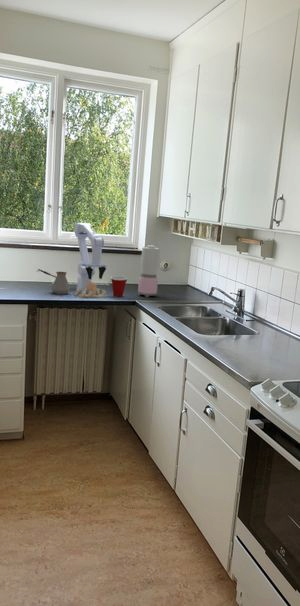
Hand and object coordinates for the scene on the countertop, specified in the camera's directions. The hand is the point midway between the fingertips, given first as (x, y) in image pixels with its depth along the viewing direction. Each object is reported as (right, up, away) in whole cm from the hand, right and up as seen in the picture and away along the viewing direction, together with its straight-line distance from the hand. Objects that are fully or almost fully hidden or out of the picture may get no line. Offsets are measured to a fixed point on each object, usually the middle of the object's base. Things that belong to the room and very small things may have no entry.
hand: (95, 278), depth 317 cm
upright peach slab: (-2, -10, -6) cm, 11 cm away
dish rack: (-2, -11, -5) cm, 12 cm away
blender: (+33, -10, +12) cm, 37 cm away
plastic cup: (+14, -11, +1) cm, 18 cm away
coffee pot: (-25, -9, -8) cm, 28 cm away
